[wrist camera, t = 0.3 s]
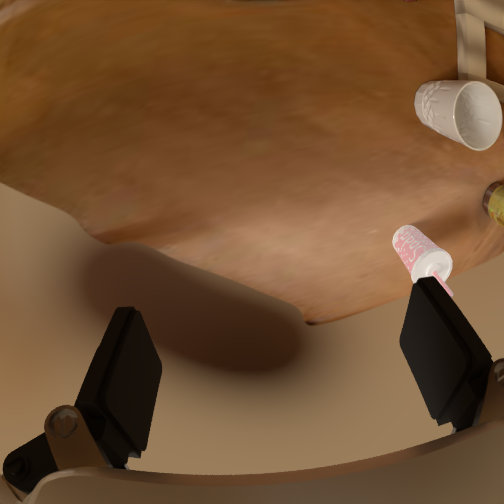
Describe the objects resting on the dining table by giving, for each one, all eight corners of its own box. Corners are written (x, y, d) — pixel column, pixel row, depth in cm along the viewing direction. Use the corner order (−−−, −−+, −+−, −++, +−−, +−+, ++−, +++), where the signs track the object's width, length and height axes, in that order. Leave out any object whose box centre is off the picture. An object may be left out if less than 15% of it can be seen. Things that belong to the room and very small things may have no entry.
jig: (447, -44, 21) (456, -48, 19) (518, -7, 21) (528, -8, 19) (457, 89, 32) (467, 90, 30) (524, 110, 32) (534, 113, 30)
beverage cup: (417, 213, 41) (470, 264, 29) (426, 245, 44) (473, 300, 32) (382, 231, 43) (426, 289, 31) (393, 263, 45) (433, 323, 33)
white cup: (429, 65, 31) (475, 66, 22) (464, 104, 33) (511, 117, 24) (399, 106, 34) (441, 116, 25) (436, 144, 36) (480, 164, 28)
